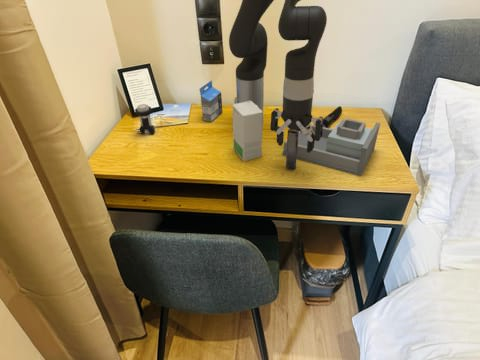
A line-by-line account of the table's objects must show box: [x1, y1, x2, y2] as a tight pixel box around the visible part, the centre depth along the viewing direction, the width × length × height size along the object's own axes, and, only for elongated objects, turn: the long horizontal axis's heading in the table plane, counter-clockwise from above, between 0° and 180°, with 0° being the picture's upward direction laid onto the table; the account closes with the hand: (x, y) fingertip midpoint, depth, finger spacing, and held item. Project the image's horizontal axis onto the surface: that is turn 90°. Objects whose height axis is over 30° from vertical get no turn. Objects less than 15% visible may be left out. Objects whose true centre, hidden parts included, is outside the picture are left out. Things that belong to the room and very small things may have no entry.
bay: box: [281, 122, 381, 177], centre depth 104 cm, size 24×16×9 cm, turn 60°
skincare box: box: [232, 101, 264, 162], centre depth 103 cm, size 8×7×16 cm
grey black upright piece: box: [134, 104, 156, 136], centre depth 117 cm, size 7×5×10 cm
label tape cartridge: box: [199, 80, 223, 123], centre depth 125 cm, size 9×4×12 cm, turn 155°
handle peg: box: [285, 128, 300, 171], centre depth 97 cm, size 3×3×12 cm
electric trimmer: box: [323, 105, 343, 129], centre depth 122 cm, size 4×16×3 cm, turn 144°
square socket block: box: [326, 118, 373, 160], centre depth 100 cm, size 10×10×10 cm
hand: (294, 147), depth 96 cm, fingers open, 8 cm apart
